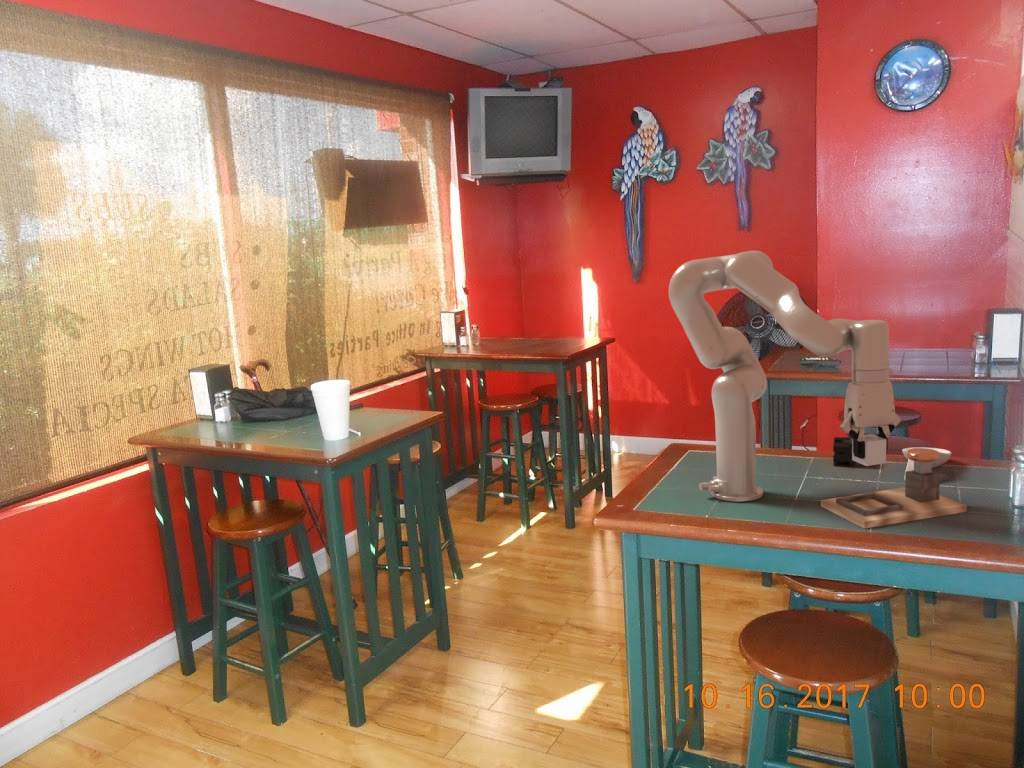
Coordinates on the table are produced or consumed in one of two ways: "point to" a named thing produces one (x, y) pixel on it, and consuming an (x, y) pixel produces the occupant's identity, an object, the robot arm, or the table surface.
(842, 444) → the end cap
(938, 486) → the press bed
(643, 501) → the table surface
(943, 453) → the spoon rest
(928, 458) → the disc
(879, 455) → the block
